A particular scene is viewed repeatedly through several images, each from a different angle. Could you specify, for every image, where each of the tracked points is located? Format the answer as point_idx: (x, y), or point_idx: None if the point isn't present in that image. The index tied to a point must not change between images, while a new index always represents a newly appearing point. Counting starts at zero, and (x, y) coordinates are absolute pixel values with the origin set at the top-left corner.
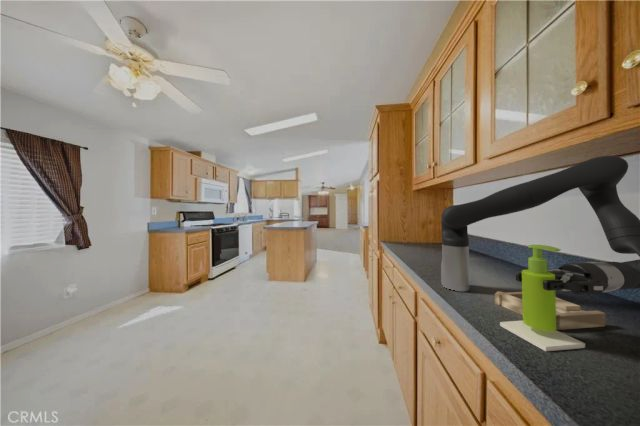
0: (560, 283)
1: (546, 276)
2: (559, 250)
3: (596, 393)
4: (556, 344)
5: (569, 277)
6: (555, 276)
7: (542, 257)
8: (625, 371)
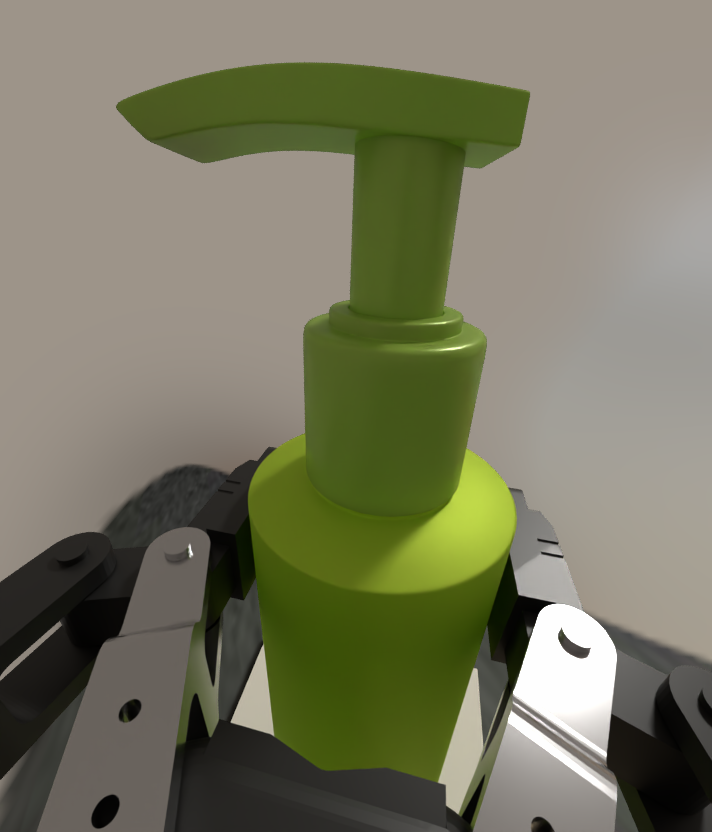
0: (204, 507)
1: (286, 443)
2: (140, 130)
3: (151, 540)
4: (255, 687)
5: (114, 641)
6: (311, 764)
7: (366, 315)
8: (27, 789)
